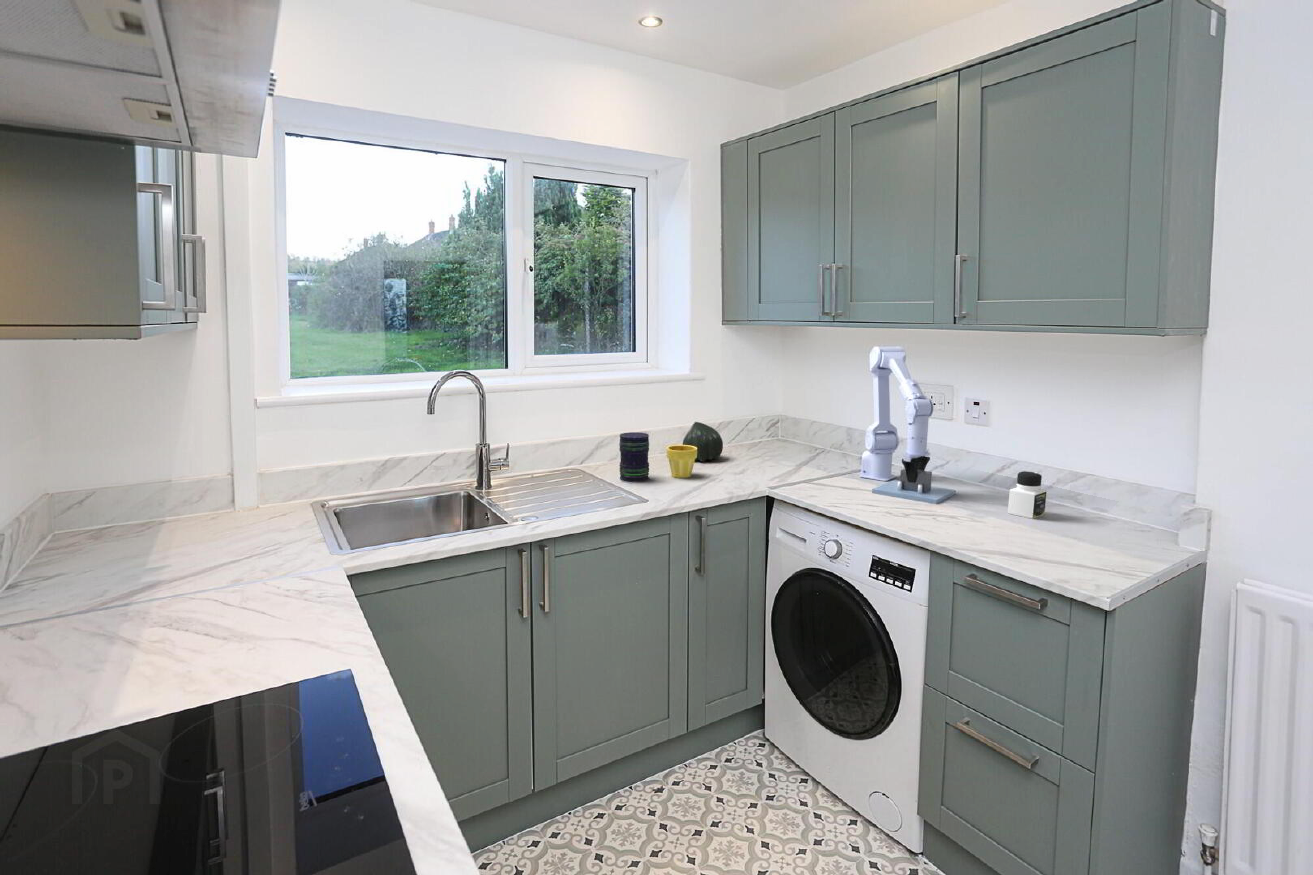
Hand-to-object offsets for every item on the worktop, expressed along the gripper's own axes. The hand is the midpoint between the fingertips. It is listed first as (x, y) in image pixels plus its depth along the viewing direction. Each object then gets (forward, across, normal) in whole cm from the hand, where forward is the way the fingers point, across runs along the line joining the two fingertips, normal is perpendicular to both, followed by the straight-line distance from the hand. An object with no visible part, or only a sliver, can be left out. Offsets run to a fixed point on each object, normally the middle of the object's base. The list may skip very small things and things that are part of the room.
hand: (914, 480), depth 233 cm
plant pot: (+4, -29, +69) cm, 75 cm away
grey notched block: (+3, 0, 0) cm, 3 cm away
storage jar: (+4, -43, +78) cm, 89 cm away
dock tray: (+4, 0, 0) cm, 4 cm away
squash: (+4, -3, +80) cm, 80 cm away
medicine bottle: (+4, -2, -33) cm, 33 cm away
